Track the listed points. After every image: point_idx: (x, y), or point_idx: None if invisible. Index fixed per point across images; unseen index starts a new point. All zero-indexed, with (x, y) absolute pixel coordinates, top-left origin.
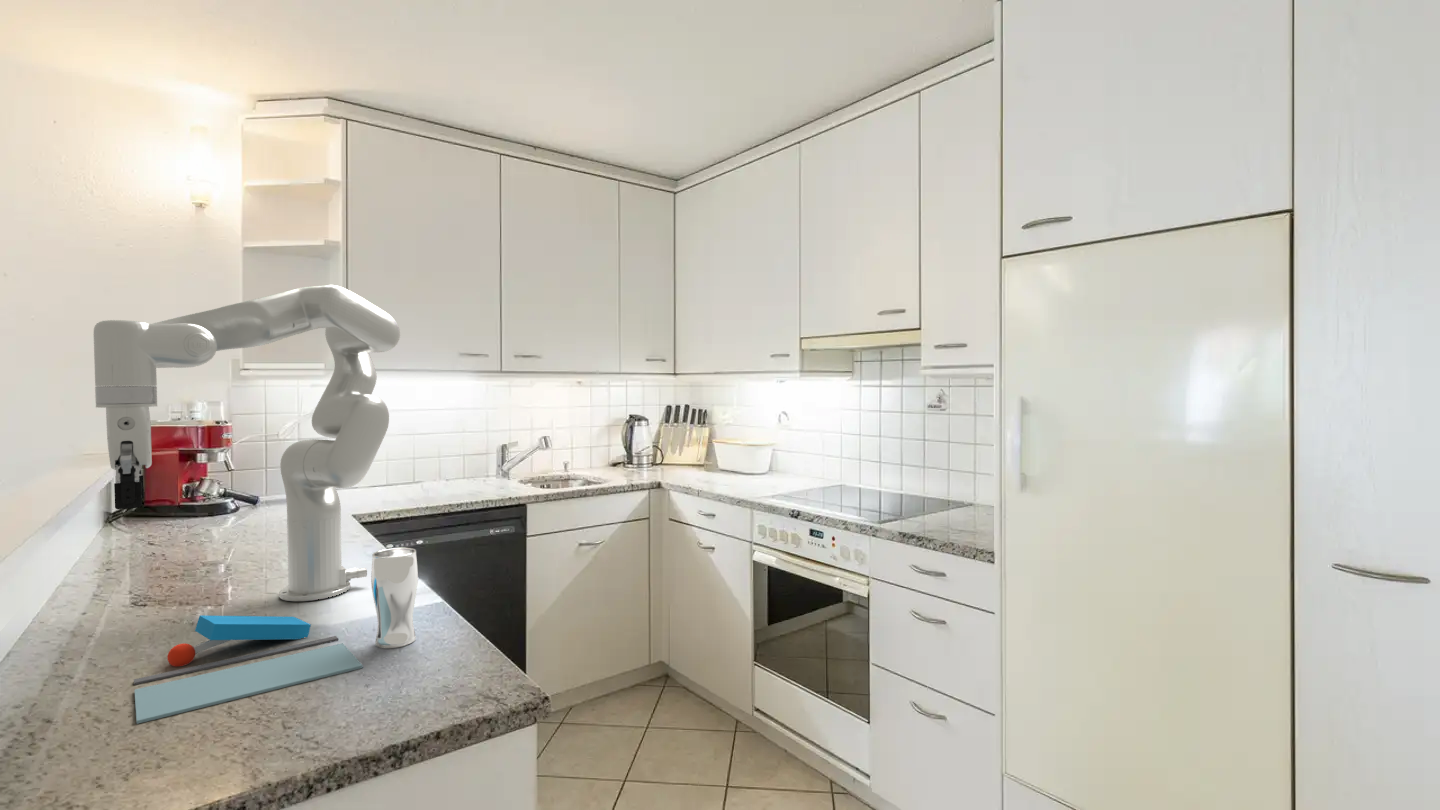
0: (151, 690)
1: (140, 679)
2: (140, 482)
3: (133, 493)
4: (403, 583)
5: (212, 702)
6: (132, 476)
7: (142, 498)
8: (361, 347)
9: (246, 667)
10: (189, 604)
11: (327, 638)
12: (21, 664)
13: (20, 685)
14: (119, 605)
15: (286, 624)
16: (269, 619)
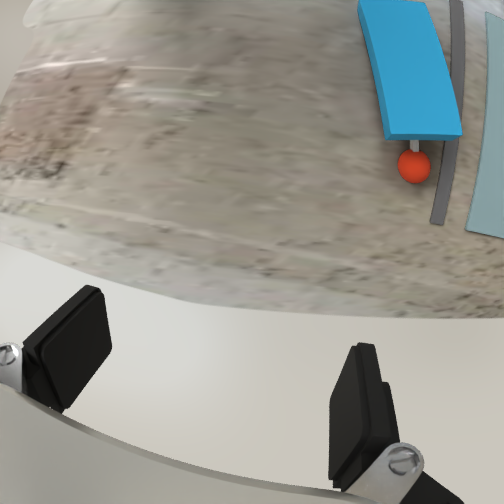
0: (483, 218)
1: (437, 217)
2: (388, 436)
3: (391, 412)
4: None
5: None
6: (438, 486)
7: (99, 289)
8: None
9: (494, 121)
10: (91, 111)
11: (454, 7)
12: (241, 300)
13: (330, 308)
14: (48, 191)
15: (436, 33)
16: (399, 38)
